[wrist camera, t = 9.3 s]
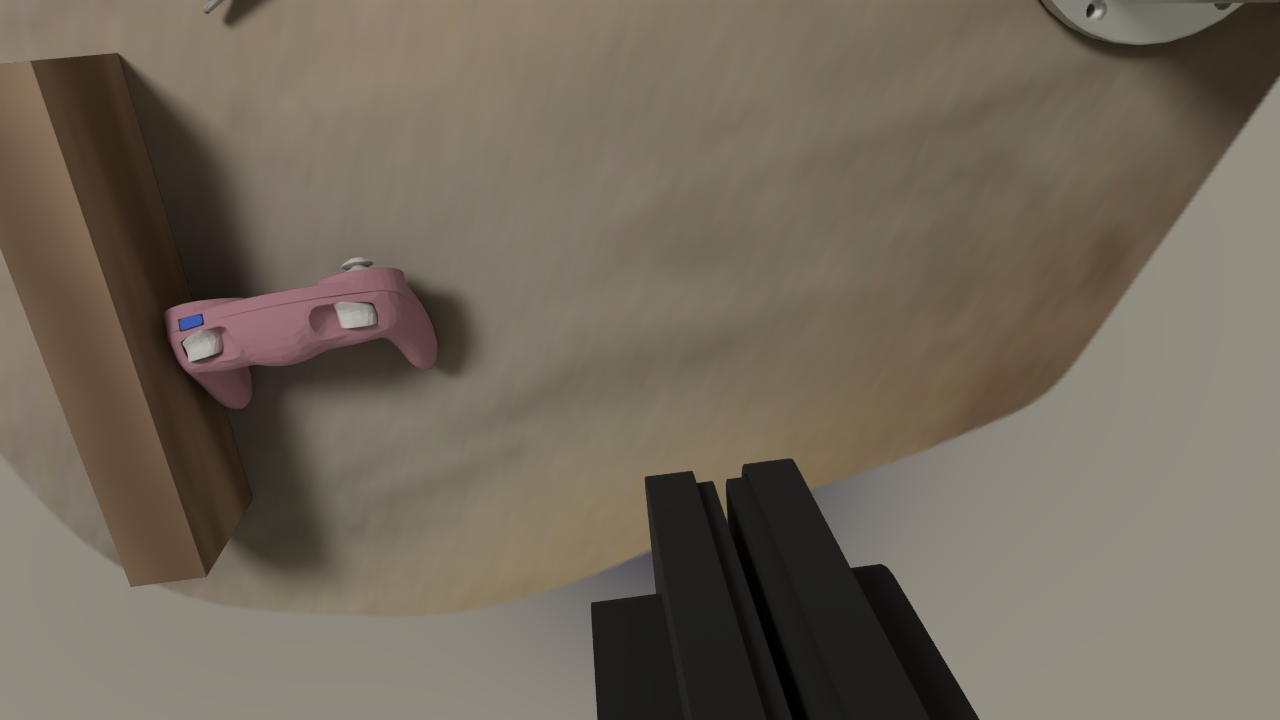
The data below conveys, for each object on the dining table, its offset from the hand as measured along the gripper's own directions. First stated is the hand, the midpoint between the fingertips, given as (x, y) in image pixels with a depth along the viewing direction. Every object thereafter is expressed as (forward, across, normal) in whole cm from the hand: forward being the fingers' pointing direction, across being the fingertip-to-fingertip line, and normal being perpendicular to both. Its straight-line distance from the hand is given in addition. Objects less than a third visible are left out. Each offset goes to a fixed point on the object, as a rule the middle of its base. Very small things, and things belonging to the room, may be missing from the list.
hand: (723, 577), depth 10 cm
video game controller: (+29, +13, +5) cm, 32 cm away
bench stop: (+28, +20, +4) cm, 35 cm away
